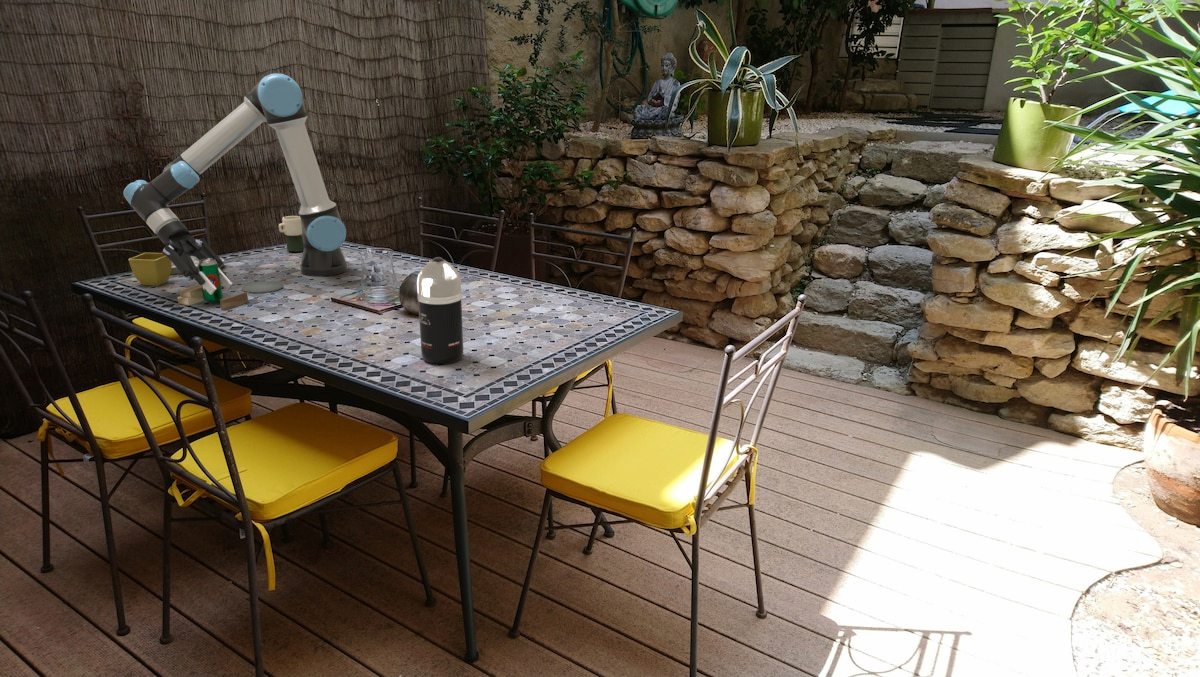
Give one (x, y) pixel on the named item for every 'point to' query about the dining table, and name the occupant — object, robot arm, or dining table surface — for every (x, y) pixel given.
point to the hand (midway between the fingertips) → (221, 289)
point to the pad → (262, 287)
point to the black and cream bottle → (440, 312)
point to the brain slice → (196, 261)
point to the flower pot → (151, 268)
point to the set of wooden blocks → (196, 295)
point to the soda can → (211, 279)
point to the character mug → (292, 232)
